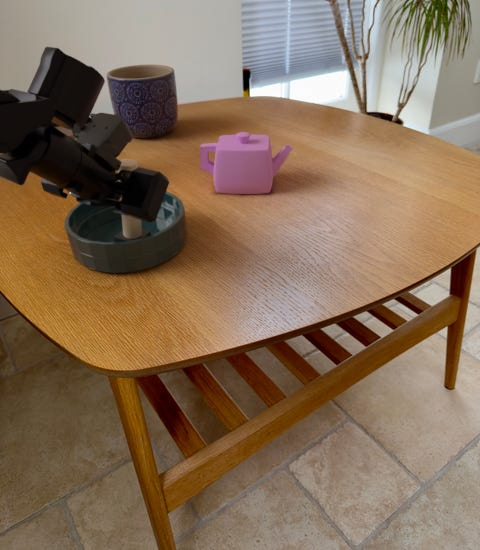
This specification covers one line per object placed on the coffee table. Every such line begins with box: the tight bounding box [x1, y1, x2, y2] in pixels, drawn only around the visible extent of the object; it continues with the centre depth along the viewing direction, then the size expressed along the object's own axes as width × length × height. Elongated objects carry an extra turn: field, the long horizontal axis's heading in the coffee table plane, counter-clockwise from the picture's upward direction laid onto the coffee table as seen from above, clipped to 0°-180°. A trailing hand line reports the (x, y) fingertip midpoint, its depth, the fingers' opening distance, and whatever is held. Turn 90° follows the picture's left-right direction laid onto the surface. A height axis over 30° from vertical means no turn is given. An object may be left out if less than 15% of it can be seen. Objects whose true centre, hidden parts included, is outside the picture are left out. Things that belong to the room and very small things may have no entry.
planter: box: [106, 64, 179, 139], centre depth 110 cm, size 16×16×15 cm
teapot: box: [199, 131, 294, 195], centre depth 85 cm, size 18×10×10 cm, turn 86°
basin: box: [64, 190, 188, 274], centre depth 69 cm, size 18×18×6 cm
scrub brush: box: [114, 158, 151, 242], centre depth 64 cm, size 4×4×14 cm
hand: (138, 204), depth 65 cm, fingers closed on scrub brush, 3 cm apart
